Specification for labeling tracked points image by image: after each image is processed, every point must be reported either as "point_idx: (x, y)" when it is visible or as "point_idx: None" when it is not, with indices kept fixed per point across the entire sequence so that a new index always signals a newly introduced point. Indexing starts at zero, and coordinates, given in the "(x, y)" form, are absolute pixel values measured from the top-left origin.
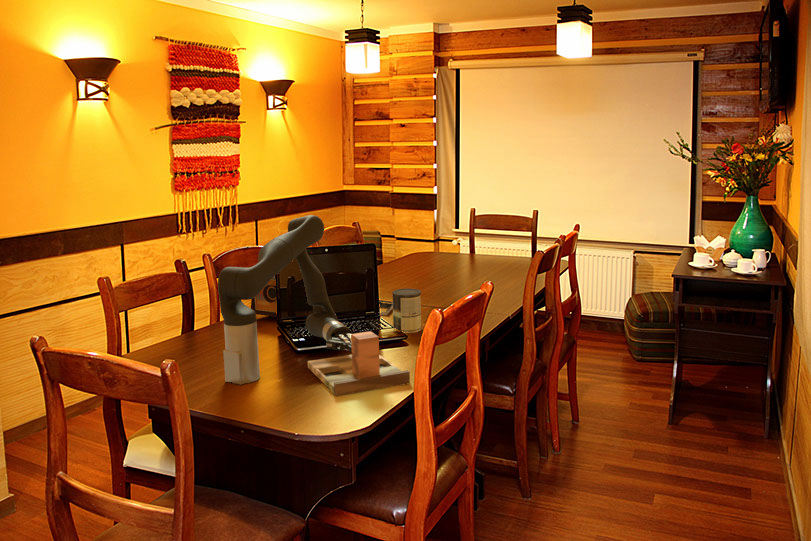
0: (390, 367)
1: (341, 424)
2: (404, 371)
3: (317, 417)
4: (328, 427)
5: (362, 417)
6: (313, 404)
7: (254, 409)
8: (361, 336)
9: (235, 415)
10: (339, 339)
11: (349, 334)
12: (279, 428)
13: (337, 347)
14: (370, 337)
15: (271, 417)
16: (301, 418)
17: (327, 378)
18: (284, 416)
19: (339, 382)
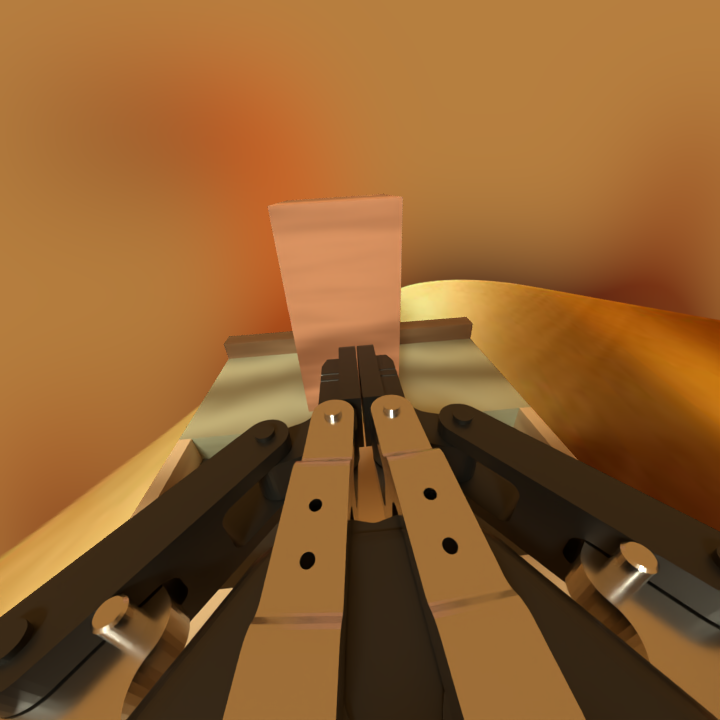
0: (214, 424)
1: (447, 289)
2: (239, 339)
3: (493, 302)
4: (467, 287)
5: (410, 296)
6: (516, 332)
7: (681, 336)
8: (357, 197)
9: (711, 324)
10: (513, 567)
11: (277, 659)
12: (555, 291)
13: (508, 509)
14: (324, 198)
15: (597, 311)
16: (525, 303)
17: (507, 391)
18: (568, 310)
19: (455, 321)
